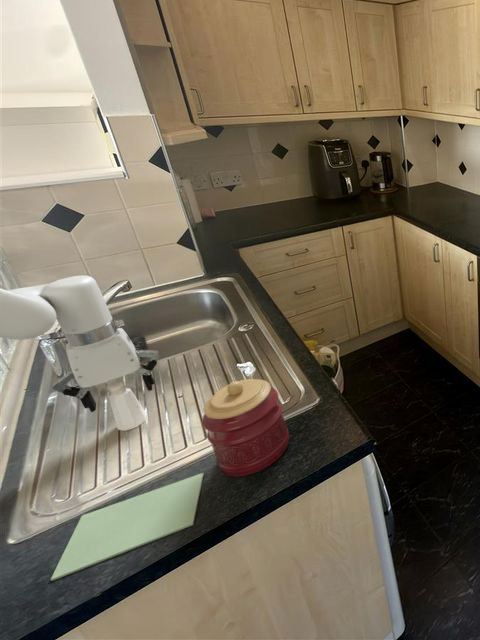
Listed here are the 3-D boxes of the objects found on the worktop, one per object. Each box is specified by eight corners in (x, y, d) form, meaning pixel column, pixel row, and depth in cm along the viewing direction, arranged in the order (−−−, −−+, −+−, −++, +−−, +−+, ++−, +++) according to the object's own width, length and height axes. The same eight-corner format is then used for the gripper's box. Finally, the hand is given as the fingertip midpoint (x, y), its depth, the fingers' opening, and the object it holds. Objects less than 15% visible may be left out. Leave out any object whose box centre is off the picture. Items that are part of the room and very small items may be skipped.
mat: (51, 581, 63) (50, 579, 62) (82, 517, 73) (81, 515, 72) (193, 525, 70) (192, 523, 70) (204, 473, 80) (203, 472, 80)
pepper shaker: (143, 411, 98) (126, 373, 94) (152, 419, 95) (135, 381, 91) (114, 425, 94) (95, 386, 90) (122, 434, 91) (103, 395, 87)
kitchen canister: (283, 420, 94) (264, 355, 87) (297, 453, 84) (277, 384, 78) (215, 450, 86) (189, 381, 80) (224, 491, 77) (195, 417, 70)
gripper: (144, 312, 94) (169, 373, 100) (35, 342, 83) (70, 408, 89) (145, 324, 89) (172, 387, 95) (29, 357, 78) (67, 426, 84)
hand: (122, 397), depth 92 cm, fingers open, 9 cm apart
